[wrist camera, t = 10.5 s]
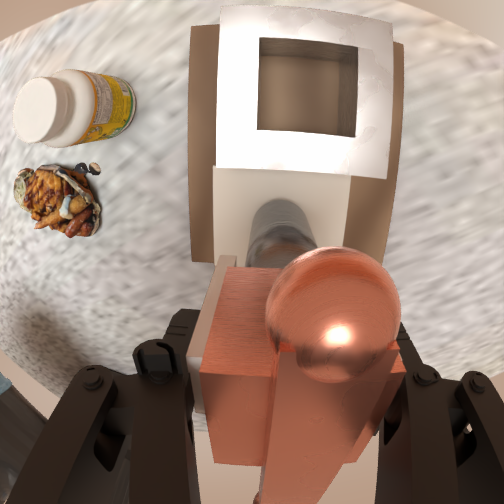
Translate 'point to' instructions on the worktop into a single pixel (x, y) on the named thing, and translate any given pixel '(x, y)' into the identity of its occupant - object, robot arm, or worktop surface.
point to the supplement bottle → (72, 108)
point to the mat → (269, 189)
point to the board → (285, 118)
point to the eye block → (310, 47)
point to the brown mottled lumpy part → (59, 198)
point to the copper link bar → (299, 357)
